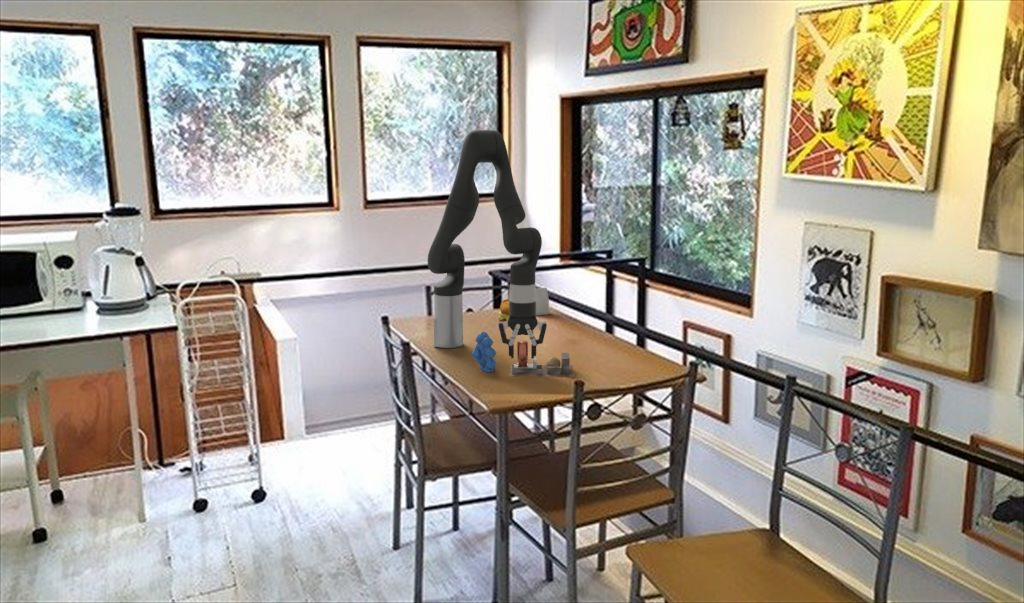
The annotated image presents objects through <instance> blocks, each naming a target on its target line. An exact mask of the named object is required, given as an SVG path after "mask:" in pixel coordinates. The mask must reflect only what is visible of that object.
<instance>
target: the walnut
mask: <svg viewBox="0 0 1024 603" xmlns="http://www.w3.org/2000/svg"><path fill="white" fill-rule="evenodd" d="M545 365H547V366H560V365H561V361H560V359H559V358H558V357H557V356H551V357H549V358H548V359H547V360H546V364H545Z"/></svg>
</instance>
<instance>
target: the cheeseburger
mask: <svg viewBox="0 0 1024 603" xmlns="http://www.w3.org/2000/svg"><path fill="white" fill-rule="evenodd" d="M508 319H509V298H506V299H503V300H502V302H500V306H499V311H498V321H499V322H500V321H502V322H506V321H508Z"/></svg>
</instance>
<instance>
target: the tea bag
mask: <svg viewBox="0 0 1024 603" xmlns="http://www.w3.org/2000/svg"><path fill="white" fill-rule="evenodd" d="M549 302H550V300H549V294H548V288H547V287H542V288H541V287H539V288H536V316H542V315H549V313H550V303H549Z"/></svg>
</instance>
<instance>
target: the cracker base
mask: <svg viewBox="0 0 1024 603" xmlns="http://www.w3.org/2000/svg"><path fill="white" fill-rule="evenodd" d="M570 359H571V358H570V353H569V352H561V361H560V366H547V365H546V364H544V365H543V364H542V363H541V364H540V363H539V364H537V370H514V364H515V363H513V364H510V371H509V377H520V378H521V377H522V378H523V377H524V378H527V377H531V378H532V377H533V378H534V377H535V378H536V377H539V378H541V377H542V378H543V377H544V378H551V377H552V378H575V373H574V367H573V365H570Z"/></svg>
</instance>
